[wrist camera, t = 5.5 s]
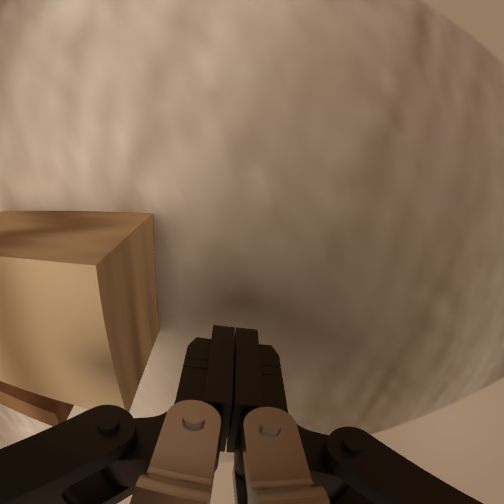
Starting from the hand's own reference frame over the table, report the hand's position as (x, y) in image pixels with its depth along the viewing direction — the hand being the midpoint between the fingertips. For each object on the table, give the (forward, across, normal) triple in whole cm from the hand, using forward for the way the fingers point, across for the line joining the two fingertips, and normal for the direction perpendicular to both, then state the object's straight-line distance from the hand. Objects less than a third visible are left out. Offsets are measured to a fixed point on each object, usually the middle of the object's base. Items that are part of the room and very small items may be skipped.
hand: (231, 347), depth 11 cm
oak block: (+4, +8, 0) cm, 9 cm away
